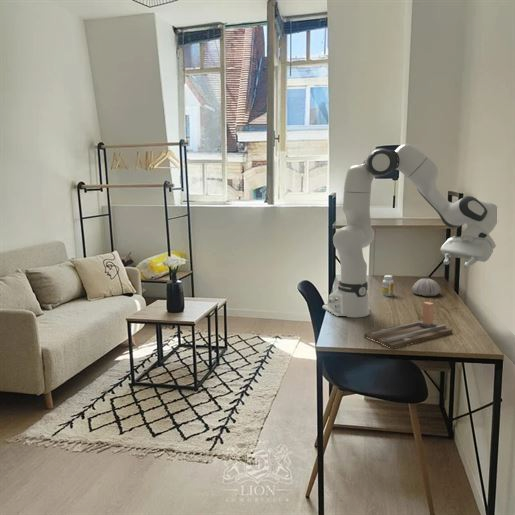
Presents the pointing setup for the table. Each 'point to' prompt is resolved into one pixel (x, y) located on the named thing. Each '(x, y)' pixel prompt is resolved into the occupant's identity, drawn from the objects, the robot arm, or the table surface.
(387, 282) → the supplement bottle
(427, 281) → the sea urchin shell
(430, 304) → the fader tab
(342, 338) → the table surface
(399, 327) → the track board
